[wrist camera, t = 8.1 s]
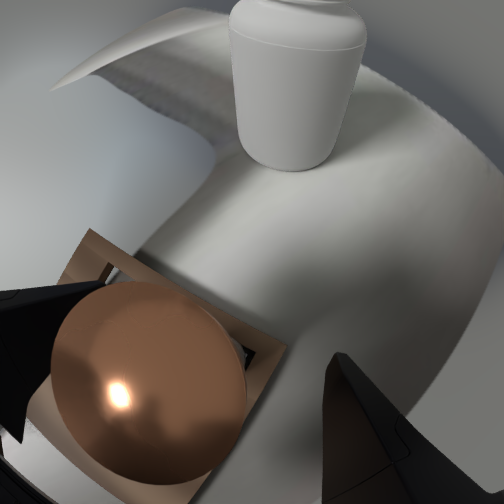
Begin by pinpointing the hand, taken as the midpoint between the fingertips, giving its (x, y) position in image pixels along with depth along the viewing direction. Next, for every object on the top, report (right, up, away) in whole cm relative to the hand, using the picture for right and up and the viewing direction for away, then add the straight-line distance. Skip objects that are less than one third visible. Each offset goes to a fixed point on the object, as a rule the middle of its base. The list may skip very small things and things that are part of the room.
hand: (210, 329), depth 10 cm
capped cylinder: (0, -4, +7) cm, 8 cm away
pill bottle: (+4, +12, +12) cm, 18 cm away
